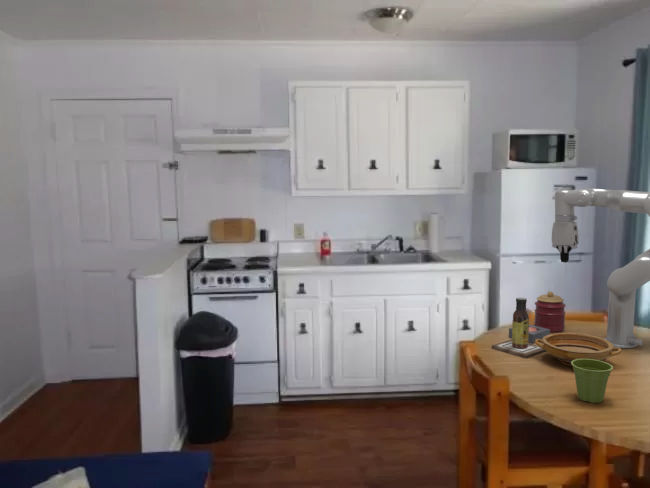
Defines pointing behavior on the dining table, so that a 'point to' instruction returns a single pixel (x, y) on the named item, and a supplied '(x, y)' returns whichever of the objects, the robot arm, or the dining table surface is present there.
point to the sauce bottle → (520, 324)
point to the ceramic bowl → (577, 347)
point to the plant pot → (591, 379)
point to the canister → (550, 313)
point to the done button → (532, 329)
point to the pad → (519, 349)
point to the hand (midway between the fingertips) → (564, 261)
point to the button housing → (534, 333)
